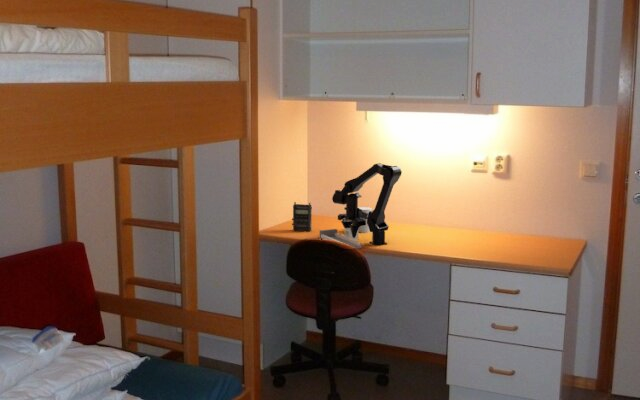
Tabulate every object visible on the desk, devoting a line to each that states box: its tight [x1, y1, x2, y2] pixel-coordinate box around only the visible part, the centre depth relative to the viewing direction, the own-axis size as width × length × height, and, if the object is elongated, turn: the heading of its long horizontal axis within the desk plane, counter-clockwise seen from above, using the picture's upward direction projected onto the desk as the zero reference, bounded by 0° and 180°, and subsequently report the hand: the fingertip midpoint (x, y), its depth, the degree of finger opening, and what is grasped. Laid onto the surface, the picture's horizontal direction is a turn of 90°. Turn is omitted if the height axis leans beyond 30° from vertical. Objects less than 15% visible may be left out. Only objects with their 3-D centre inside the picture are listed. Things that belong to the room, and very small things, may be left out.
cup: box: [357, 206, 372, 234], centre depth 374 cm, size 8×8×12 cm
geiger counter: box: [291, 201, 313, 233], centre depth 373 cm, size 10×4×15 cm, turn 77°
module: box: [344, 228, 359, 241], centre depth 357 cm, size 5×5×5 cm
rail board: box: [317, 228, 363, 249], centre depth 347 cm, size 26×10×4 cm, turn 27°
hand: (351, 236), depth 357 cm, fingers closed on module, 5 cm apart
